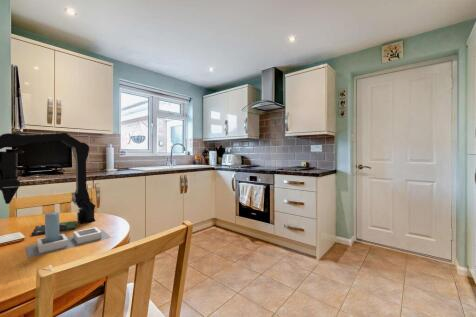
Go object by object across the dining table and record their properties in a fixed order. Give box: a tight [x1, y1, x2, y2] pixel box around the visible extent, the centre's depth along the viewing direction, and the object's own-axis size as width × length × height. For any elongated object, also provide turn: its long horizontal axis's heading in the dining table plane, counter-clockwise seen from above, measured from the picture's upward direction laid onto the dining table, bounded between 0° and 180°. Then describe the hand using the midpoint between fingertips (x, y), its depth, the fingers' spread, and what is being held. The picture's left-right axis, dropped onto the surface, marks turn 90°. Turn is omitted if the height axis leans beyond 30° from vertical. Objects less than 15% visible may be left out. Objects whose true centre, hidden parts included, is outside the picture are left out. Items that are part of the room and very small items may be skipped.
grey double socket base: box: [25, 226, 112, 259], centre depth 87 cm, size 25×12×4 cm, turn 136°
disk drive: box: [31, 220, 78, 237], centre depth 100 cm, size 10×3×15 cm
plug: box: [44, 211, 60, 244], centre depth 83 cm, size 4×4×12 cm
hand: (6, 201), depth 93 cm, fingers open, 9 cm apart
